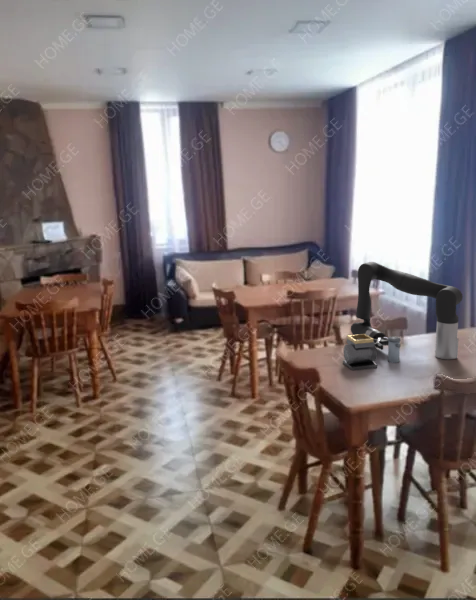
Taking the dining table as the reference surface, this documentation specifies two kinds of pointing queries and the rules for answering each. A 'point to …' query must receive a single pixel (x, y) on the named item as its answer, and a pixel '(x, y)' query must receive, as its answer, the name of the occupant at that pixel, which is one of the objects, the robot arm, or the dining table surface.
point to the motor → (360, 352)
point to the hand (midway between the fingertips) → (391, 346)
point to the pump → (393, 349)
